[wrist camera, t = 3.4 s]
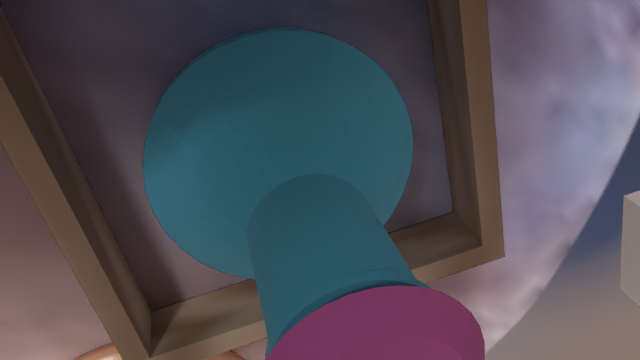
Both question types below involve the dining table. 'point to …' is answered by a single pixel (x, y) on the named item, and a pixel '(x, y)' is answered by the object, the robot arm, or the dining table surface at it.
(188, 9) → the dining table surface
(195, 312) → the frame
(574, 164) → the dining table surface
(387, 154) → the perfume bottle
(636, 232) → the robot arm
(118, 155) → the dining table surface
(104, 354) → the saucer
